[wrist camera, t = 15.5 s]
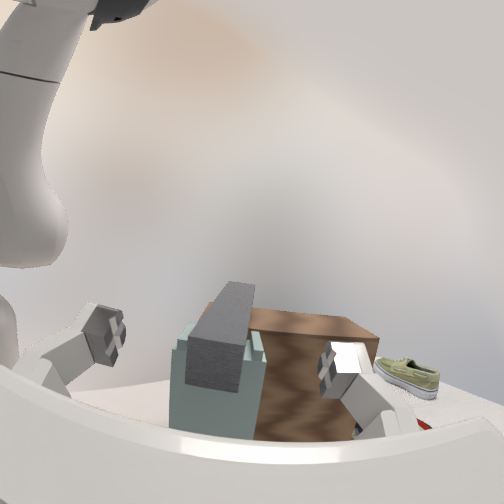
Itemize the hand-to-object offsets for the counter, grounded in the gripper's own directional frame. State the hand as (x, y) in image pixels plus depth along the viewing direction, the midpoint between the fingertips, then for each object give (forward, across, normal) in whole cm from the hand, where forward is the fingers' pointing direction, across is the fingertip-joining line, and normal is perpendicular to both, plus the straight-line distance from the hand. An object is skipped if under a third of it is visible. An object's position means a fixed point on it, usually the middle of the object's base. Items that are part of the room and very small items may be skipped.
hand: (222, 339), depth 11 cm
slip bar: (+13, 0, +13) cm, 18 cm away
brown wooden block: (+8, -8, +40) cm, 42 cm away
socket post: (-2, 0, +34) cm, 34 cm away
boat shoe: (+38, -57, +58) cm, 90 cm away
